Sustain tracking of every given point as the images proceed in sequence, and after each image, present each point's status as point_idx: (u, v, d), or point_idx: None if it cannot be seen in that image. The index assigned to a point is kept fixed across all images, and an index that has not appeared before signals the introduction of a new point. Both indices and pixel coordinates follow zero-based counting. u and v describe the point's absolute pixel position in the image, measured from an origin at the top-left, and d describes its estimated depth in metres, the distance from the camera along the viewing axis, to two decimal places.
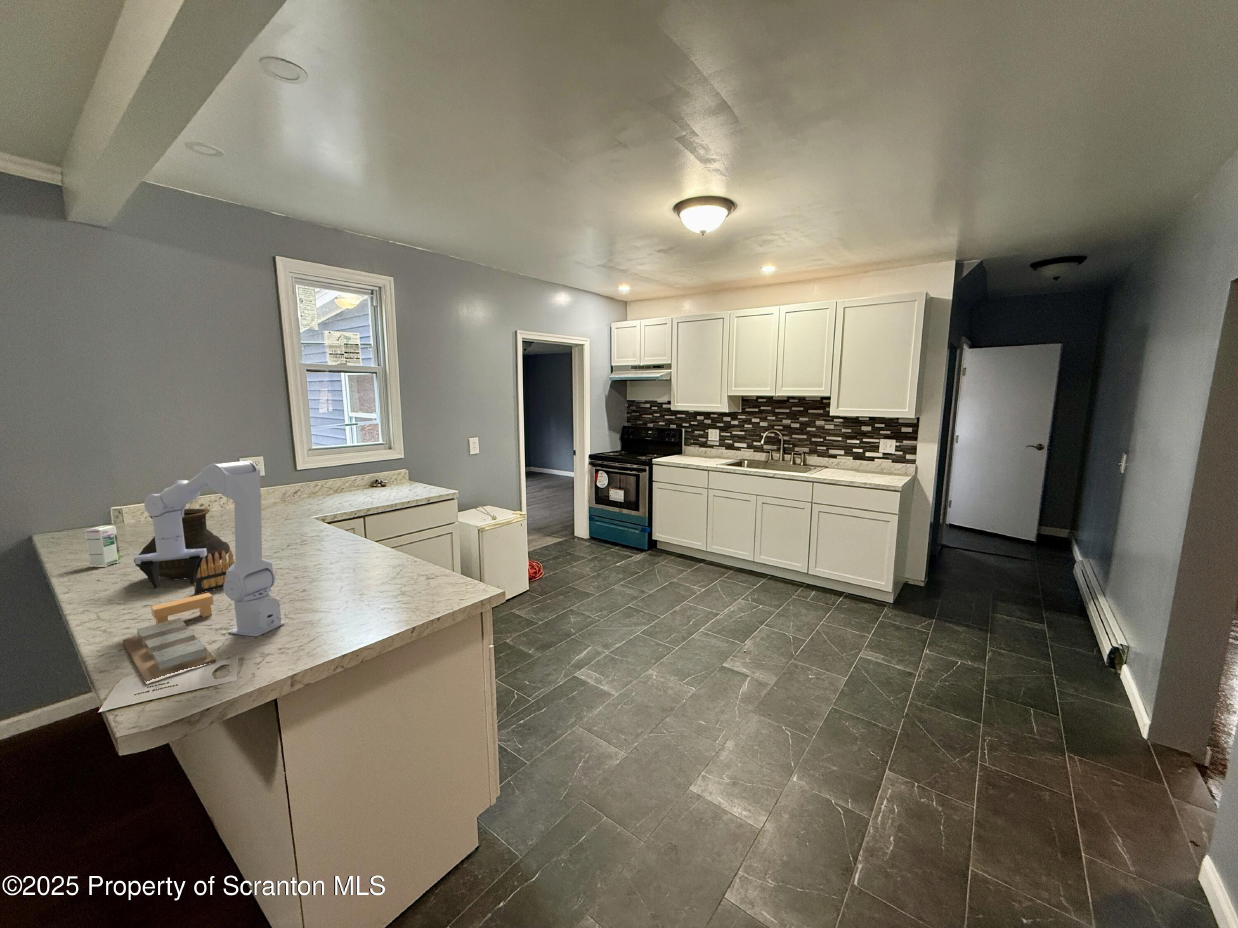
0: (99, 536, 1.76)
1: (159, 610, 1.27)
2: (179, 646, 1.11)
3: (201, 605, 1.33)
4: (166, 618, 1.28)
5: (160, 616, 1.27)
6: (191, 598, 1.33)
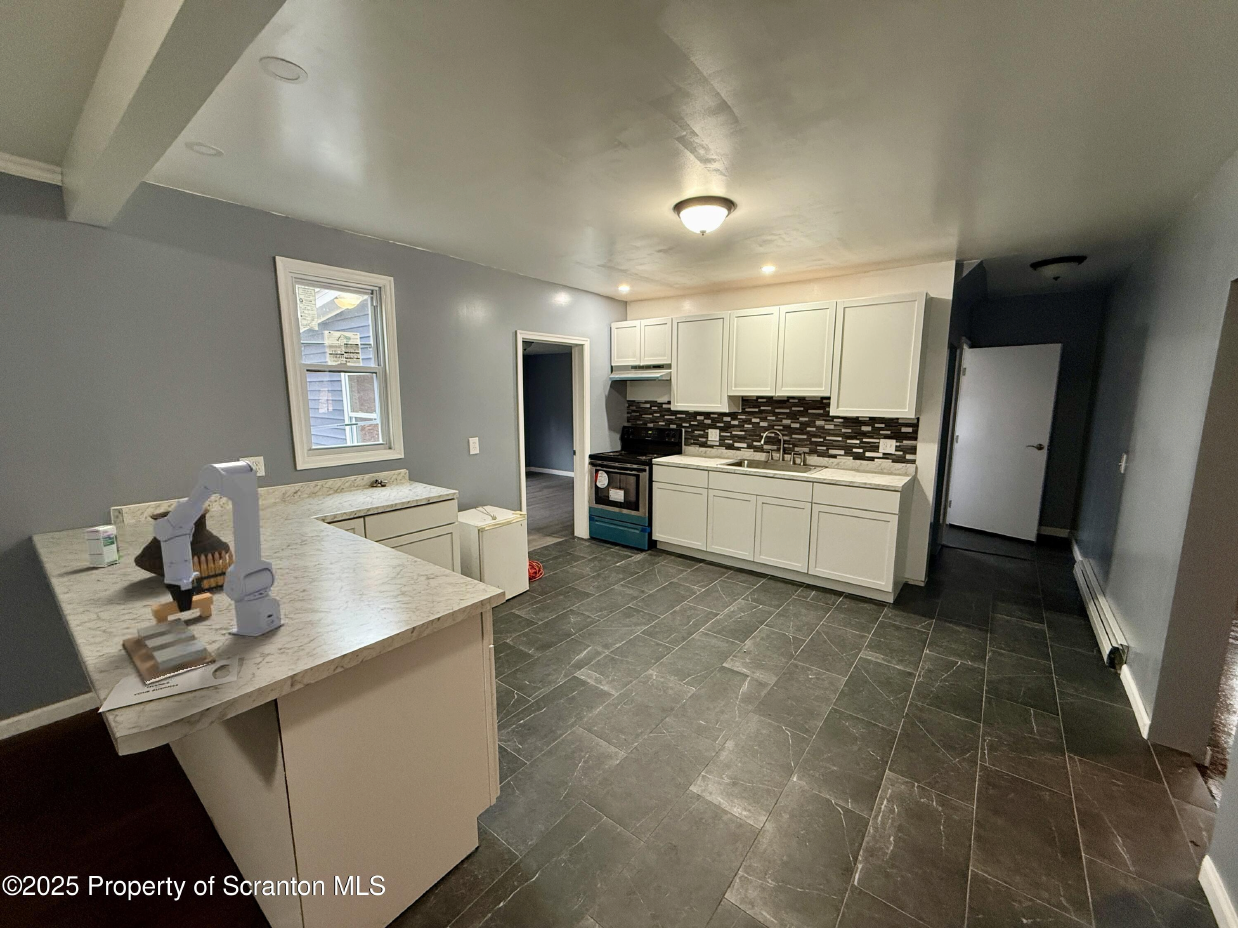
0: (99, 536, 1.76)
1: (159, 610, 1.27)
2: (179, 646, 1.11)
3: (201, 605, 1.33)
4: (166, 618, 1.28)
5: (160, 616, 1.27)
6: None
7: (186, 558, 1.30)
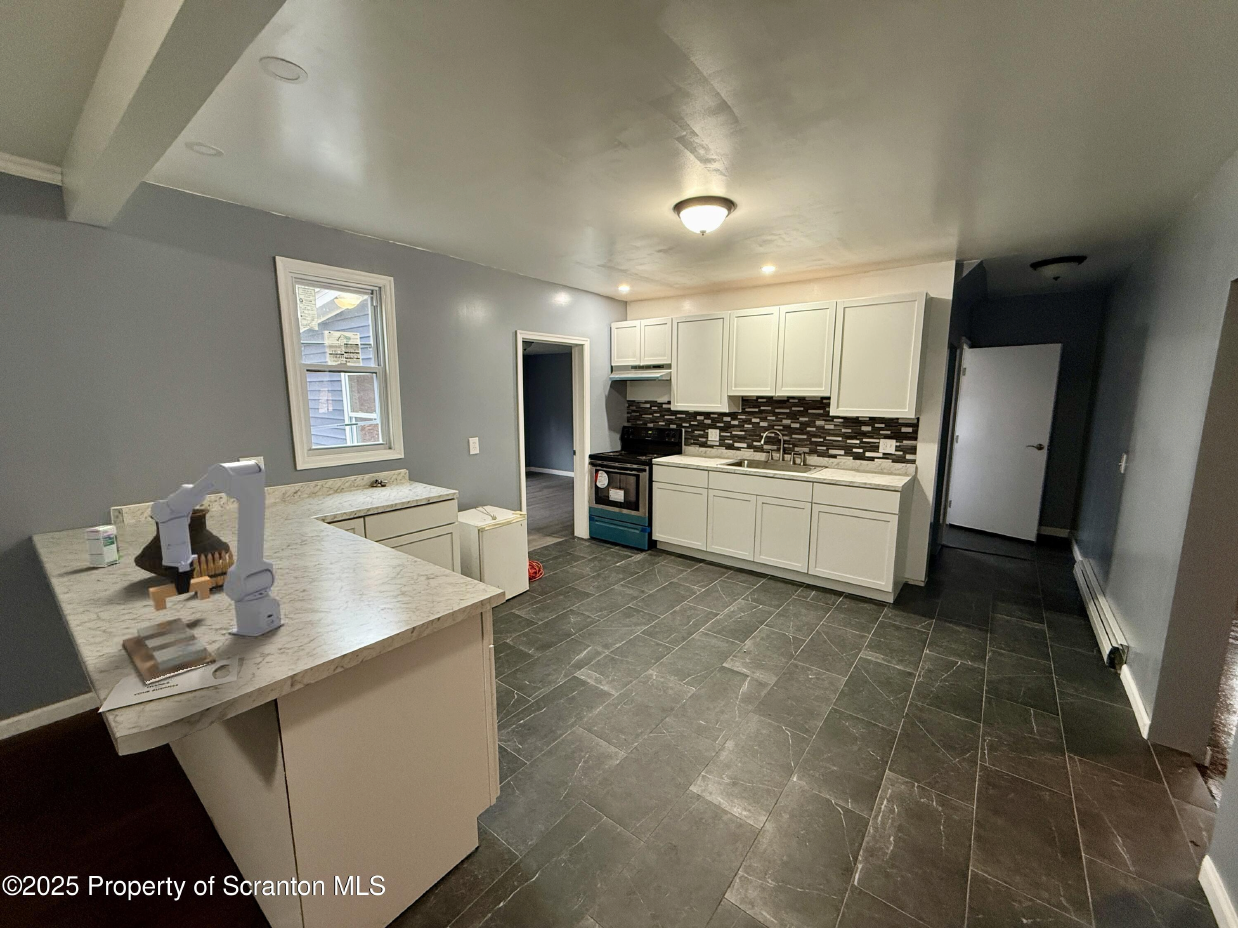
0: (99, 536, 1.76)
1: (157, 592, 1.26)
2: (179, 646, 1.11)
3: (199, 588, 1.33)
4: (164, 600, 1.28)
5: (158, 598, 1.26)
6: None
7: (184, 540, 1.29)
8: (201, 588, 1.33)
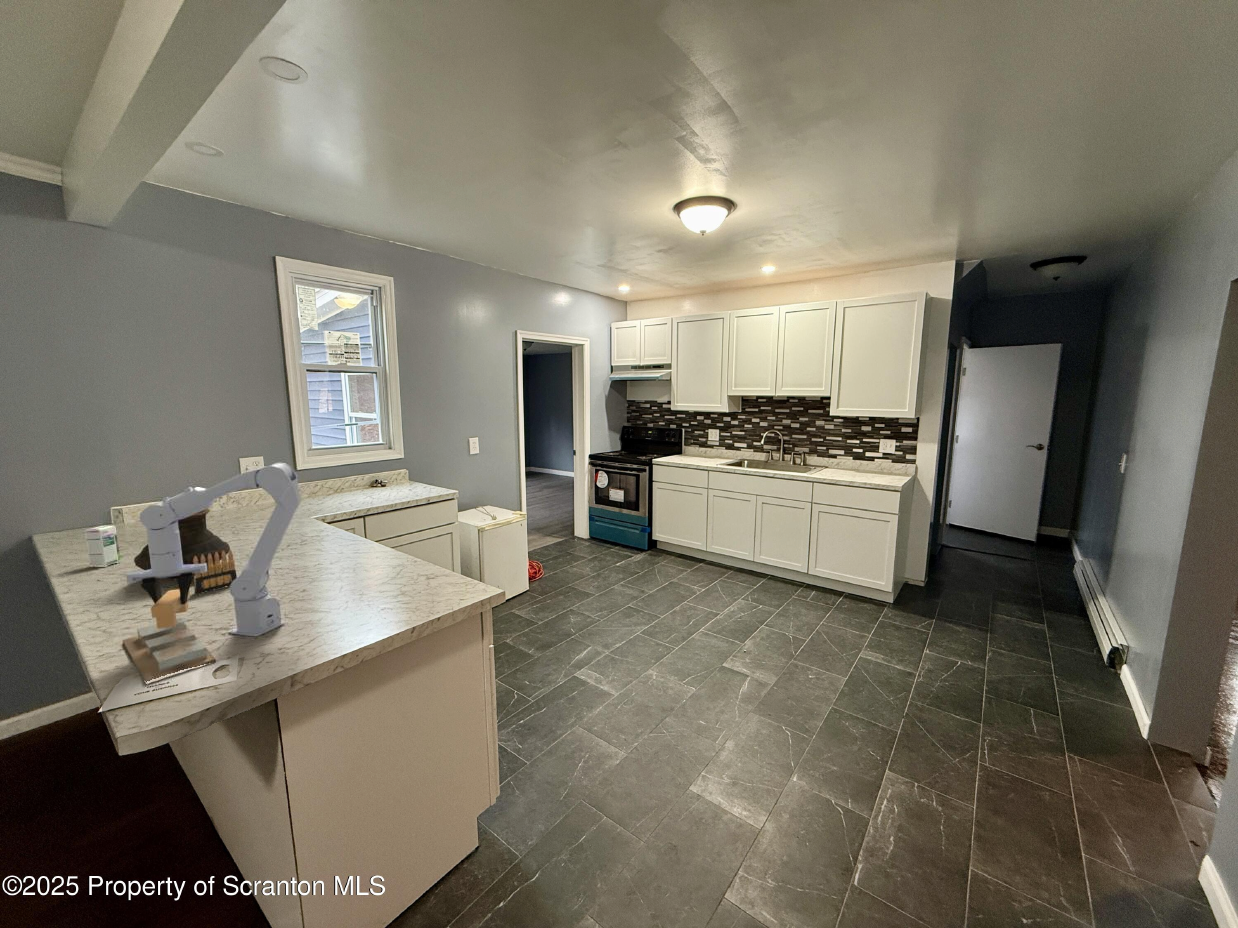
0: (99, 536, 1.76)
1: (174, 604, 1.16)
2: (179, 646, 1.11)
3: None
4: (175, 614, 1.17)
5: (175, 611, 1.16)
6: (171, 594, 1.21)
7: (180, 546, 1.19)
8: (187, 598, 1.24)
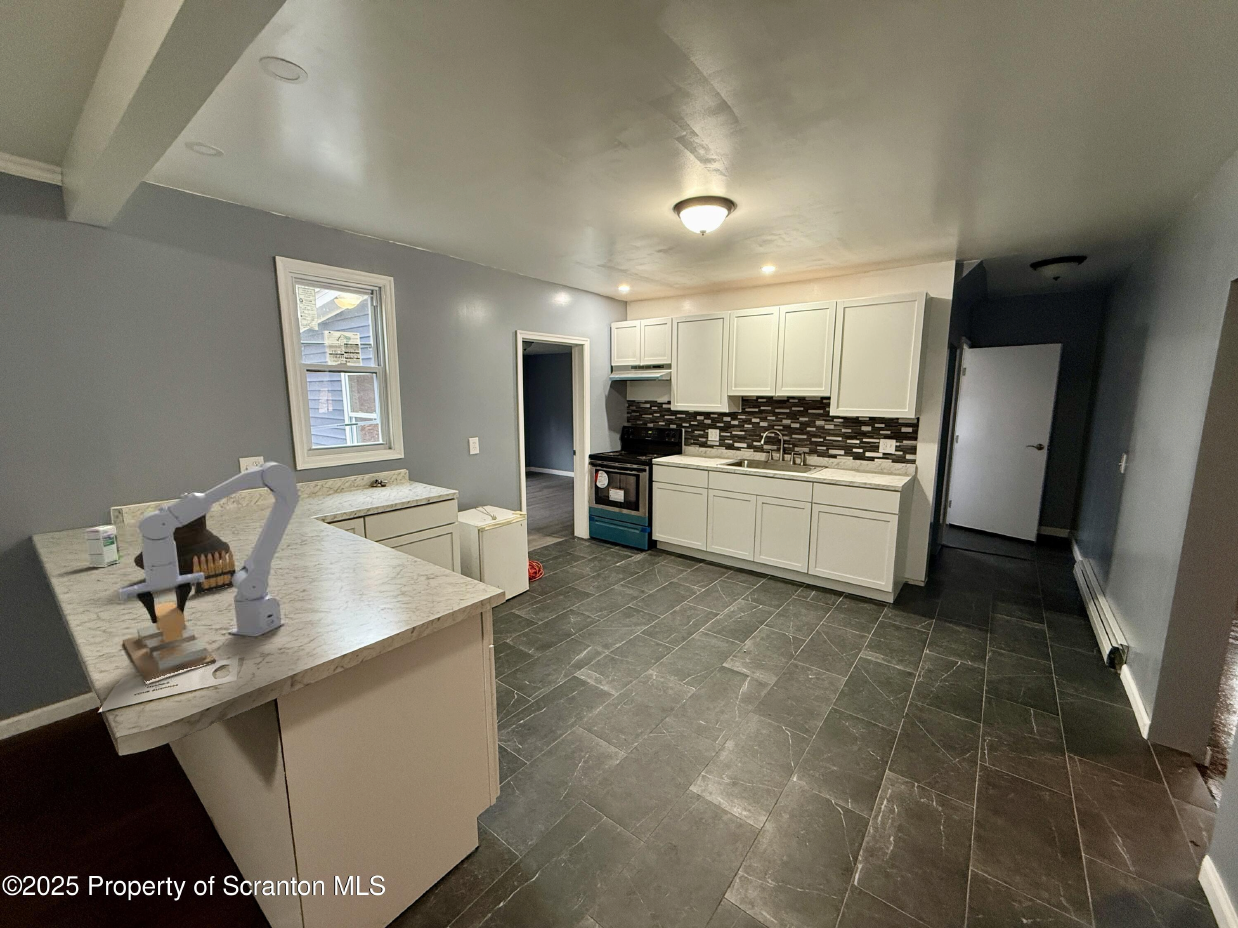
0: (99, 536, 1.76)
1: None
2: (179, 646, 1.11)
3: None
4: None
5: None
6: (163, 609, 1.15)
7: None
8: None
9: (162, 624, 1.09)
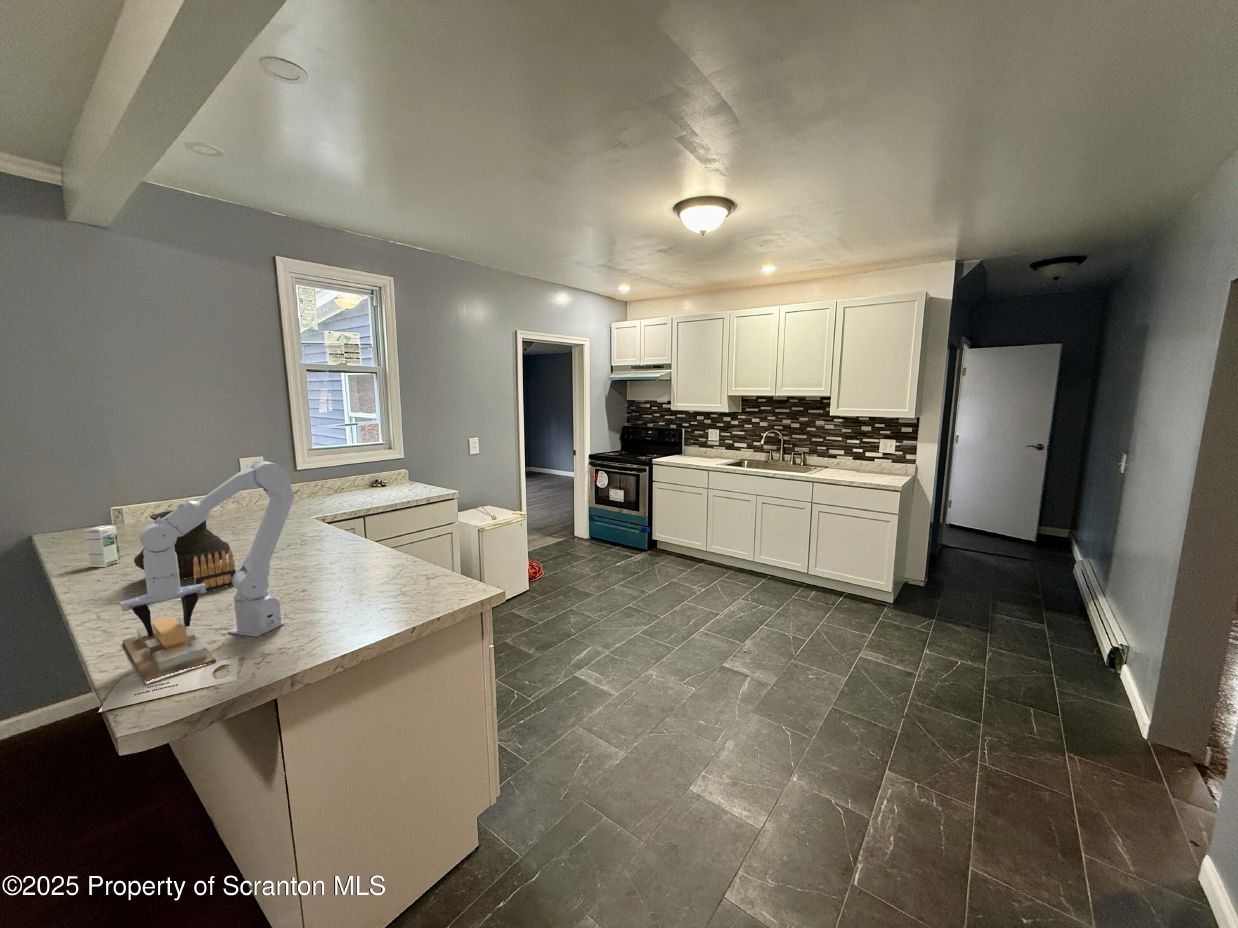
0: (99, 536, 1.76)
1: None
2: (179, 646, 1.11)
3: None
4: None
5: None
6: (165, 624, 1.15)
7: None
8: None
9: (164, 639, 1.10)
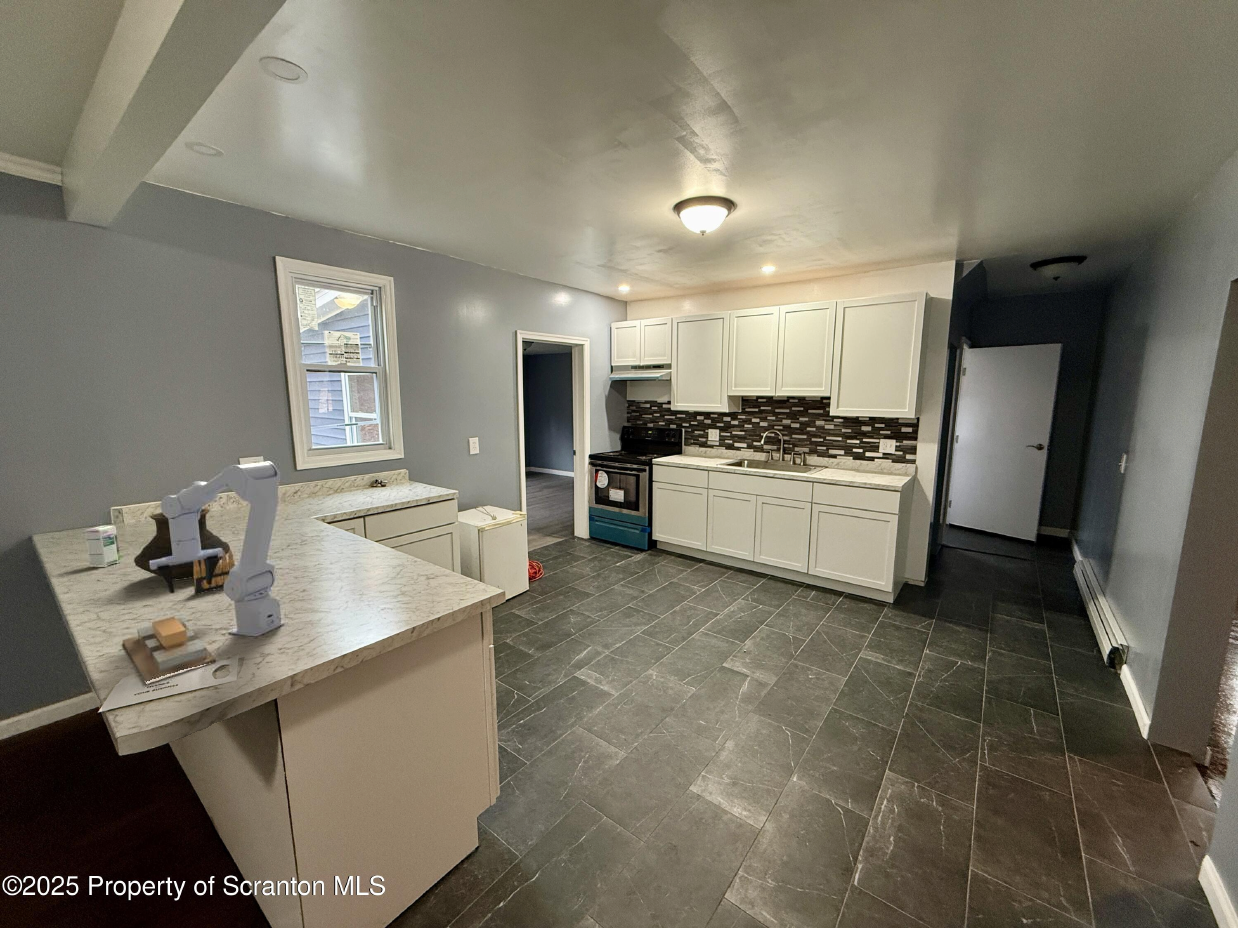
0: (99, 536, 1.76)
1: None
2: (179, 646, 1.11)
3: None
4: None
5: None
6: (165, 624, 1.15)
7: (194, 536, 1.28)
8: None
9: (164, 639, 1.10)
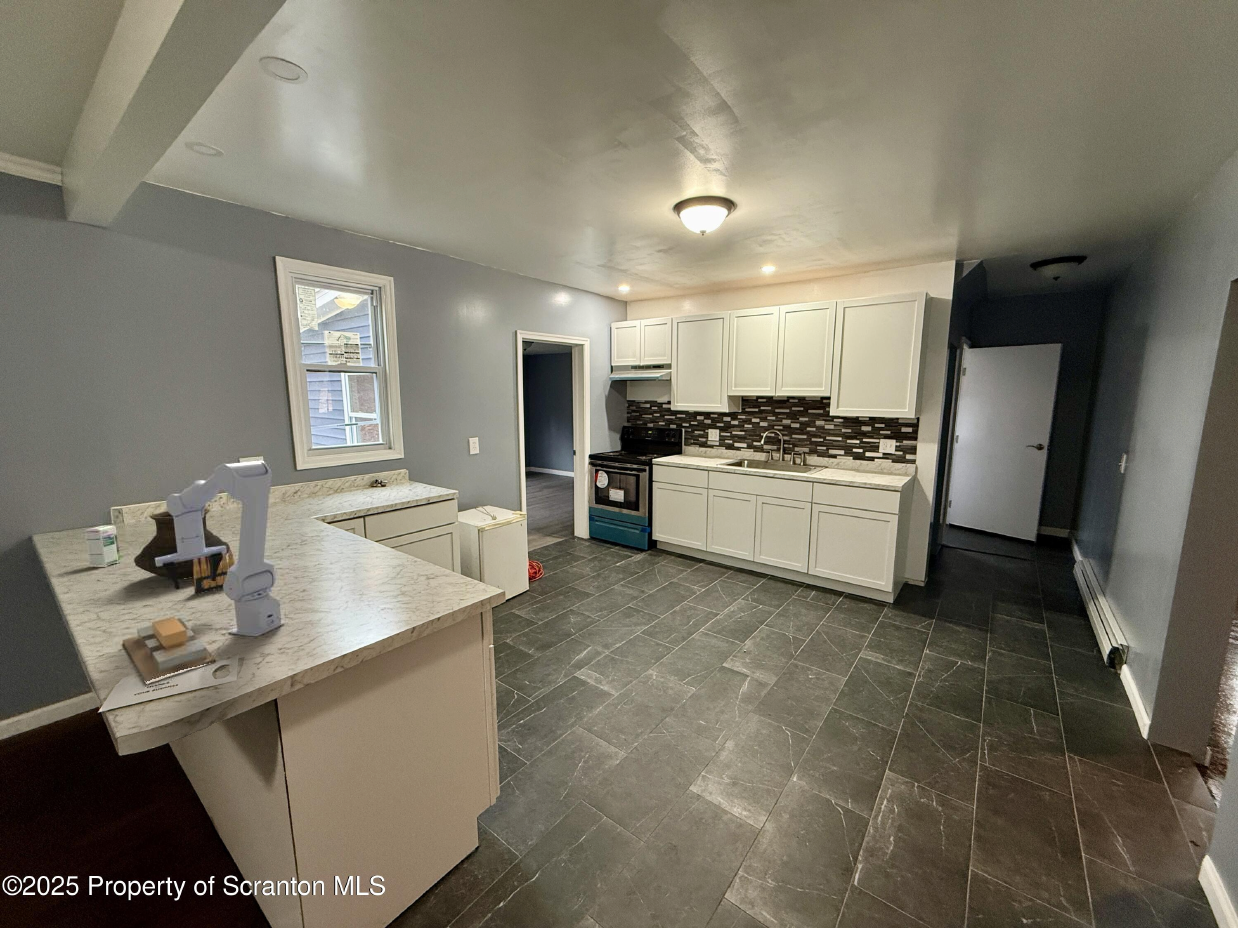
0: (99, 536, 1.76)
1: None
2: (179, 646, 1.11)
3: None
4: None
5: None
6: (165, 624, 1.15)
7: (197, 534, 1.31)
8: None
9: (164, 639, 1.10)
